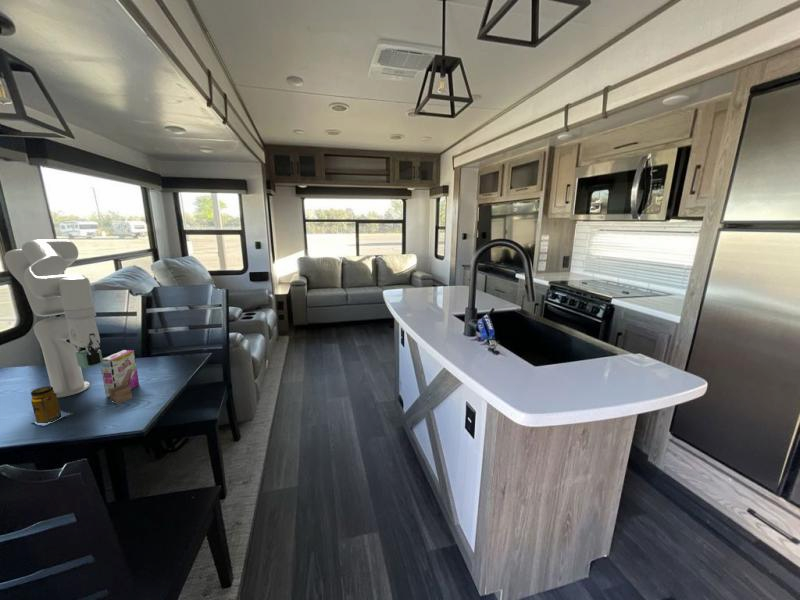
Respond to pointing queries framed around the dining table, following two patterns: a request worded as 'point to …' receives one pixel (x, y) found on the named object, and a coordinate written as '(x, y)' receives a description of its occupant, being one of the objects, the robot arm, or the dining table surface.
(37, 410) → the condiment
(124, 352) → the candy bar box
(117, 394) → the walnut block
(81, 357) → the green cube
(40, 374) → the dining table surface
